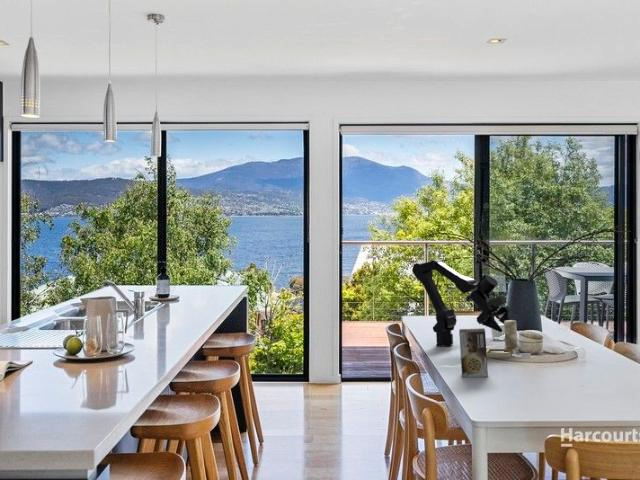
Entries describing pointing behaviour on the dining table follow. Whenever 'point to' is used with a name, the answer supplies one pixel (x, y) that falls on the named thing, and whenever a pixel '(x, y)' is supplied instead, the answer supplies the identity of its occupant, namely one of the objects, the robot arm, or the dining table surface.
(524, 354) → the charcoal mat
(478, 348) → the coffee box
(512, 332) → the disc
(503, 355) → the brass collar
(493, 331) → the shot glass
